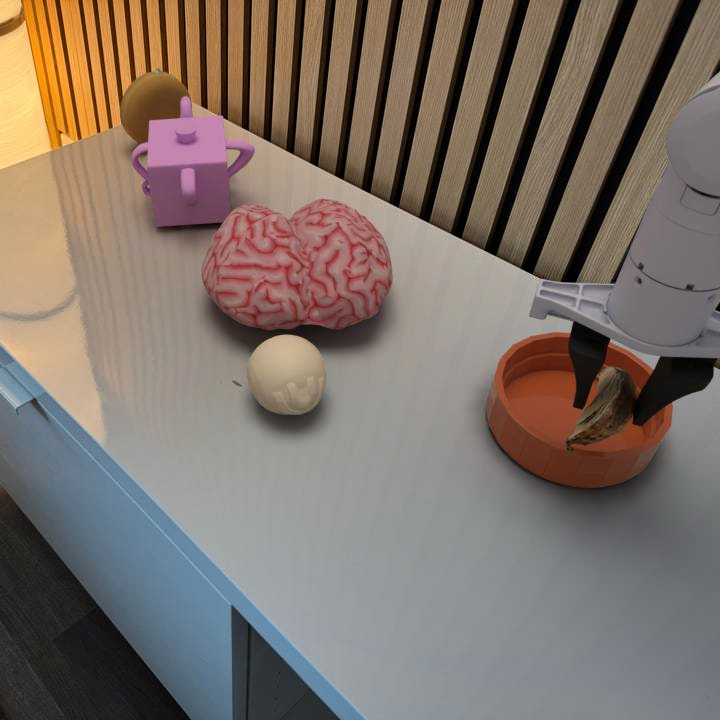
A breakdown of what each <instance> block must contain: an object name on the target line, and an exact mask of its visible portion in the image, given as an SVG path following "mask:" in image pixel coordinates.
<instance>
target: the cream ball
mask: <svg viewBox="0 0 720 720" xmlns="http://www.w3.org/2000/svg"><path fill="white" fill-rule="evenodd" d="M246 377H247V382H248V383H247V384H248V386H249V389H250V392H251V394H252V395H253V398H255V400H256V401H257V402H258V403H259V405H260V406H262V407H263V408H264V409H265V410H268V412H271V413H274V414H278V415H283V416H287V415H291V416H298V415H299V416H300V415H304V414H306V413H308V412H311V411H312V410H313V409H314V408H315V407H316V406H318V404H319V403H320V402H321V400H322V398H323V395H324V393H325V389H326V385H327V370H326V365H325V360H324V358H323V356H322V354H321V352H320V351H319V350H318V348H317V346H316V345H314V344H313V343H312V342H310V341H309V340H308V339H306V338H304V337H301V336H298V335H293V334H280V335H279V334H278V335H275V336H273V337H272V336H271V337H270V338H268V339H266V340H264V341H263V342H261V343H260V344H259V345H258V346H257V347H256V348H255V349H254V350H253V352H252V354H251V356H250V358H249V360H248V363H247V366H246Z"/></svg>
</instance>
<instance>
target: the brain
mask: <svg viewBox="0 0 720 720" xmlns="http://www.w3.org/2000/svg"><path fill="white" fill-rule="evenodd" d="M391 260H392V259H391V254H390V251H389V247H388V245H387V242H386V240H385V238H384V237H383V235H382V234H381V232H380V230H378V229H377V227H376V226H375V225H374V224H373V223H372V222H371V221H369V219H367V217H366V216H365V215H363V214H361V213H359V212H358V210H357V209H356V208H353V207H351V206H350V205H348V204H346V203H343V202H340V201H338V200H334V199H327V198H320V199H316V200H314V201H312V202H310V203H308V204H306V205H303V206H301V207H300V208H299V209H296V211H295V212H294V213H293V214H292V216H290V218H289V219H288V217H286V216H285V215H284V214H282V213H281V212H277V211H274V210H271V209H270V208H269V207H267V206H262V205H259V204H242V205H239V206H237V207H235V208H234V209H232V211H230V213H229V215H228V216H227V217H226V219H225V220H224V222H221V225H220V227H219V228H218V229H217V230H216V233H215V234H214V235H213V237H212V239H211V242H210V244H209V247H208V250H207V252H206V254H205V257H204V259H203V261H202V265H201V279H202V283H203V286H204V288H205V291H206V293H207V294H208V296H209V297H210V298H211V300H212V301H213V302H214V303H215V304H216V305H217V307H218V308H219V309H220V310H221V311H222V312H223V313H225V314H226V315H227V316H228V317H229V318H231V319H232V320H234V321H236V322H238V323H239V324H242V325H245V326H247V327H251V328H259V329H261V330H265V331H275V330H280V329H281V330H294V329H295V328H298V327H299V326H301V325H316V326H321V327H324V328H327V329H331V330H343V329H346V328H348V327H350V326H351V327H352V326H354V325H356V324H358V323H360V322H362V321H364V320H368V319H371V318H373V316H375V315H377V313H378V312H379V309H380V307H381V304H382V302H383V301H384V299H385V298H386V296H388V294H389V292H390V290H391V288H392V284H393V277H394V276H393V275H394V274H393V266H392V261H391Z"/></svg>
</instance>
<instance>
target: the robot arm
mask: <svg viewBox="0 0 720 720" xmlns="http://www.w3.org/2000/svg"><path fill="white" fill-rule="evenodd" d="M665 141H666V144H665V145H666V146H665V148H666V154H667V158H668V161H667V164H666V167H665V170H664V173H663V175H662V177H661V178H660V179H659V181H658V182H657V183H656V185H655V188H654V190H653V192H652V195H651V197H650V200H649V202H648V205H647V207H646V210H645V212H644V214H643V215H642V219H641V221H640V224H639V226H638V229H637V231H636V233H635V235H634V238H633V241H632V242H631V245H630V248H629V250H628V252H627V255H626V257H625V260H624V261H623V264H622V266H621V269H620V271H619V274H618V276H617V278H616V280H615V282H614V283H593V282H563V281H556V280H555V281H554V280H549V279H543V278H539V282H538V285H537V287H536V291H535V293H534V297H533V300H532V303H531V306H530V311H529V314H528V316H529V318H533V319H537V320H540V321H544V320H546V319H547V316H550V317H554V318H556V319H557V318H558V319H562V320H567V321H570V322H572V324H571V329H570V332H569V333H570V338H569V342H568V350H569V356H570V358H571V361H572V364H573V367H574V372H575V378H576V392H575V397H574V402H573V407H574V408H577V409H581V410H583V408H584V407H585V405H586V402H587V399H588V396H589V393H590V390H591V387H592V384H593V382H594V380H595V378H596V376H597V375H598V373H599V371H600V369H601V368H602V366H603V365H604V363H605V360H606V354H607V349H608V345H609V342H611V341H615V342H617V343H619V344H621V345H623V346H625V347H626V348H629V349H630V350H634V351H636V352H638V353H642V354H644V355H645V354H646V355H650V356H656V357H658V360H657V362H656V365H655V366H654V368H653V372H652V374H651V375H650V377H649V378H648V380H647V382H646V383H645V385H644V387H643V388H642V390H641V392H640V393H639V396H638V398H637V401H636V405H635V411H634V414H633V421H632V424H634V425H637V426H643V425H644V424H645V423H646V422H647V421H648V420H649V419H650V418H651V417H653V416H654V415H655V414H656V413H658V412H659V411H660V410H661V409H663V408H664V407H666V406H667V405H669V404H670V403H672V404H673V403H674V402H676V401H677V400H678V401H679V400H680V399H682V398H685V397H687V396H688V395H689V396H690V395H692V394H695V393H698V392H702V391H704V390H705V389H706V388H707V387H708V386H709V385H710V384H711V382H712V380H713V379H714V375H715V365H716V363H717V362H718V360H719V359H720V311H718V310H716V308H717V305H718V304H719V302H720V71H718V73H716V74H715V75H714V76H713V77H712V78H711V79H710V80H709V81H708V82H707V83H705V85H703V86H702V88H700V89H699V90H698V91H697V92H696V93H695V94H693V96H691V97H690V99H688V100H687V101H686V102H685V103H684V104H683V105H682V107H681V108H680V109H679V110H678V112H677V113H676V114H675V116H674V118H673V119H672V121H671V123H670V125H669V128H668V131H667V135H666V140H665Z"/></svg>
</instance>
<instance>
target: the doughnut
mask: <svg viewBox="0 0 720 720" xmlns="http://www.w3.org/2000/svg"><path fill="white" fill-rule="evenodd" d="M184 96H187V97H189V98H190V101H191V108H192V109H193V104H192V102H193V101H192V98H191V94H190V92H189V90H188V89H187V87H186V86H185V85H184V84H183V83H182V82H181V81H180V80H179V79H178V78H177V77H176V76H175V75H173V74H171V73H169V72H166V71H161V67H156V68H155V69H154V70H153V71H150V72H146V73H144V74H142V75H139V76H138V77H136V78H135V79H134V80H133V81H132V82H131V83H130V84H129V85H128V87H127V88H126V90H125V92H124V94H123V96H122V98H121V101H120V106H119V117H120V122H121V125H122V128H123V129H124V131H125V133H126V134H127V135H128V136H129V137H130V139H132V140H134V141H135V142H136V143H137V144H138V145H140V144H143V143H147V142H148V136H149V121H150V120H163V119H178V118H180V112H181V105H180V103H181V99H182V98H183V97H184Z"/></svg>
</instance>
